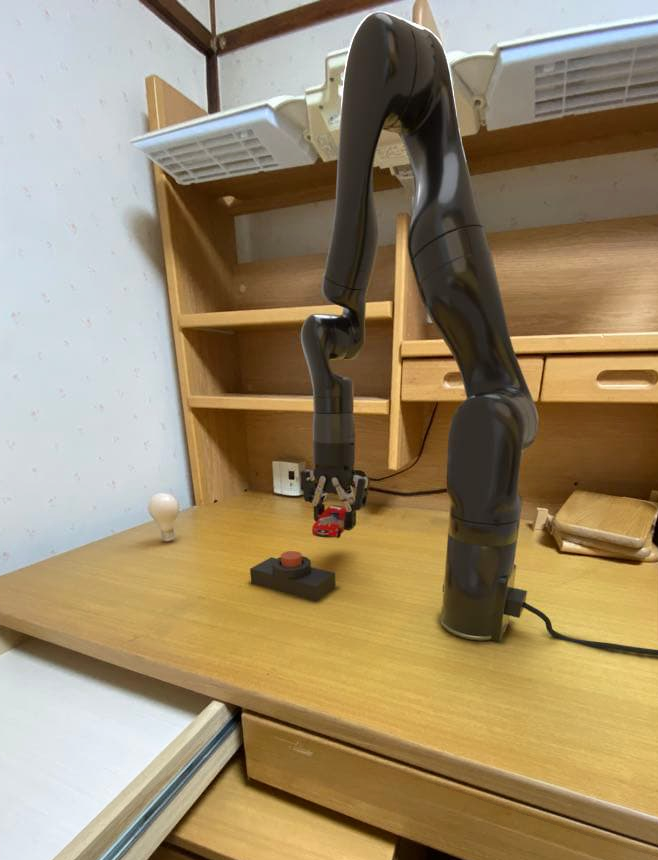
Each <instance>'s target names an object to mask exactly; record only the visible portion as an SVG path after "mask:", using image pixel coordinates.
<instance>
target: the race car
mask: <svg viewBox="0 0 658 860" xmlns="http://www.w3.org/2000/svg"><path fill="white" fill-rule="evenodd" d="M345 512H346V509H345V506H344V505H337V504H335V505H334V504H332V505H330V506H328V507H327V508H325V511H324V512H323V513H322V514H321V516H320V515H318V517H320V518H319V519H318V520H317V521H315V522H314V523H313V525H312V526H311V527H312V528H311V533H312V535H313V536H314V537H319V538H326V539H327V538H335V539H340V538H341V536H342V534H343V533H344V532H345V531H346V530H345Z"/></svg>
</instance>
